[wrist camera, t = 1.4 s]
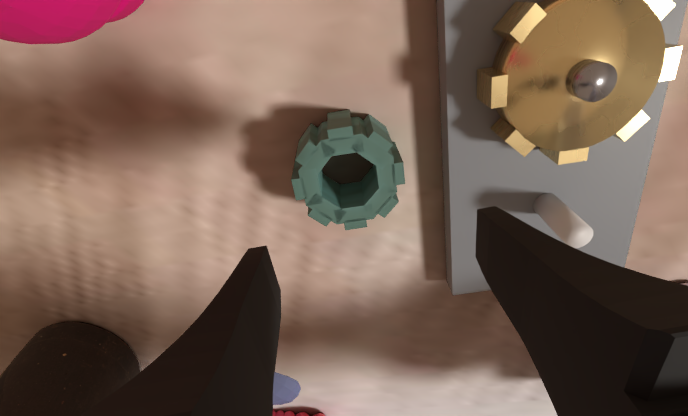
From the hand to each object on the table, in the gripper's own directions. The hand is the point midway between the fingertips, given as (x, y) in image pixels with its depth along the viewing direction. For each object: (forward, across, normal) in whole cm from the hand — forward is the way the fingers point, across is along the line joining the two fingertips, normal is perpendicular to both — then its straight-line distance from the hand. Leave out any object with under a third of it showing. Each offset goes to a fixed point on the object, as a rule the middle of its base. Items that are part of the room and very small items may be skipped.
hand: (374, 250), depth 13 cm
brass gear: (+8, -11, -2) cm, 14 cm away
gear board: (+10, -11, +2) cm, 15 cm away
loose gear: (+10, 0, +1) cm, 10 cm away
